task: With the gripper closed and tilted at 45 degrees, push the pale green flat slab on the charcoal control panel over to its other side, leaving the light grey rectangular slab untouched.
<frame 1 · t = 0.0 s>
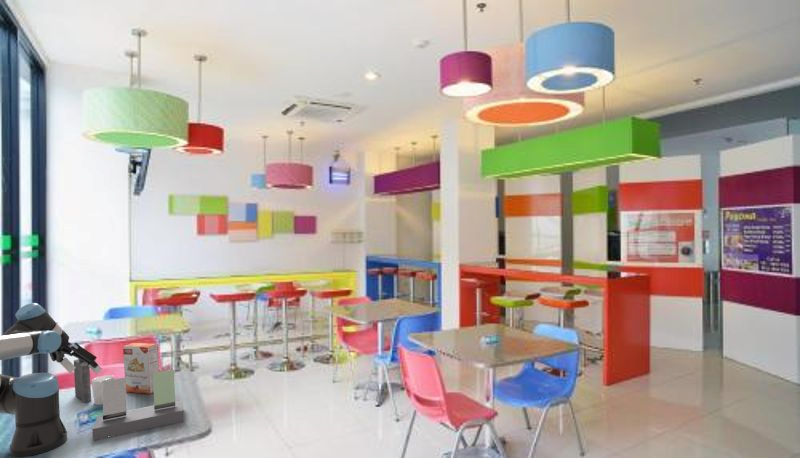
hand: (85, 371, 183), 15 cm above the table, tool tilted 35°, fingers open, 13 cm apart
flask: (84, 398, 195), on the table
cracker box: (142, 391, 200), on the table
white cup: (104, 402, 189), on the table
control panel: (141, 424, 165), on the table
light grey rectangular slab: (114, 398, 163), point 10 cm above the table, hinge at -25.0°
pale green flat slab: (164, 389, 171), point 10 cm above the table, hinge at -25.0°
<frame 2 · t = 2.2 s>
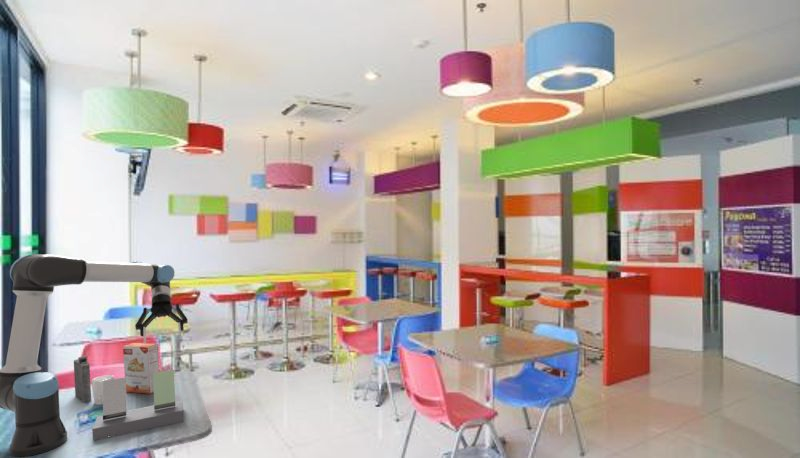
hand: (162, 339, 187), 26 cm above the table, tool tilted 45°, fingers open, 12 cm apart
nothing on the table moved.
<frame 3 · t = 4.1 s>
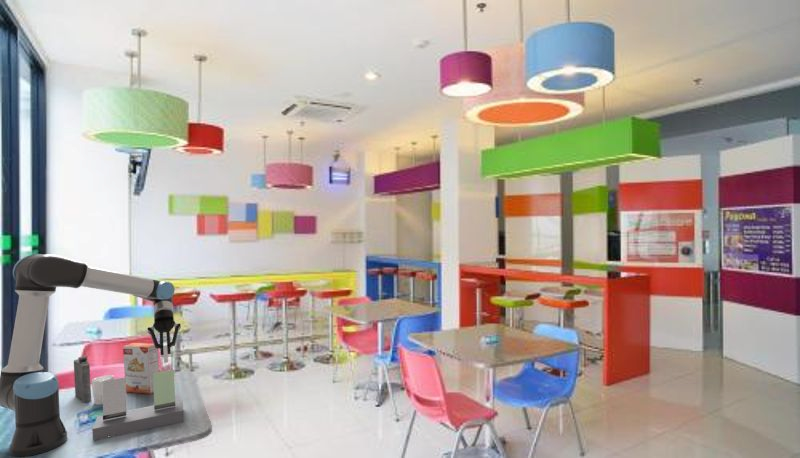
hand: (165, 360, 184), 18 cm above the table, tool tilted 45°, fingers closed
nothing on the table moved.
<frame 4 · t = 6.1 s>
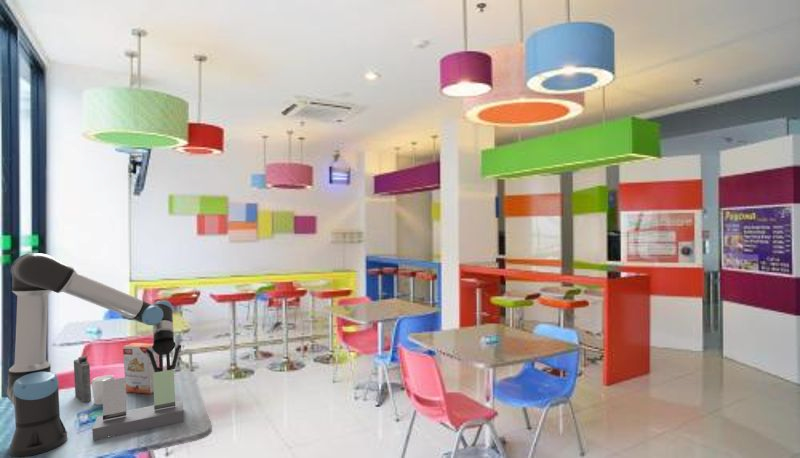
hand: (165, 386, 173), 11 cm above the table, tool tilted 45°, fingers closed
pale green flat slab: (164, 389, 171), point 10 cm above the table, hinge at -24.5°, touching gripper
everything else where it was.
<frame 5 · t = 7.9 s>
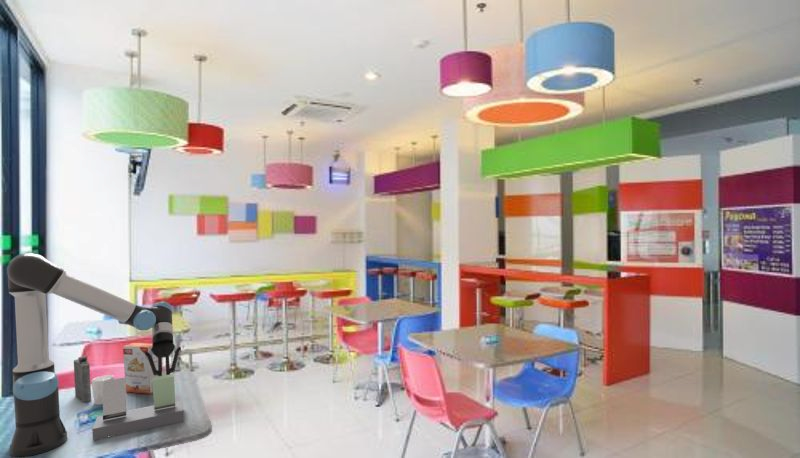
hand: (164, 389, 168), 11 cm above the table, tool tilted 45°, fingers closed
pale green flat slab: (164, 392, 167), point 11 cm above the table, hinge at 18.8°, touching gripper
everything else where it was.
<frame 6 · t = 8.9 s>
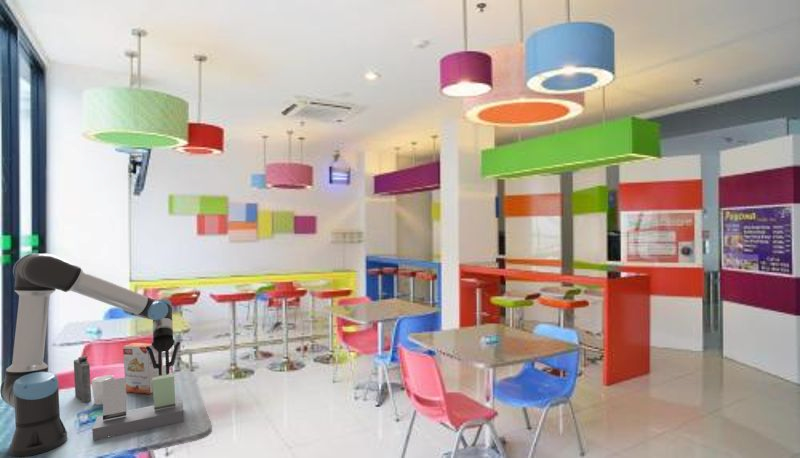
hand: (164, 381, 177), 11 cm above the table, tool tilted 45°, fingers closed
pale green flat slab: (164, 392, 167), point 11 cm above the table, hinge at 18.8°
everything else where it was.
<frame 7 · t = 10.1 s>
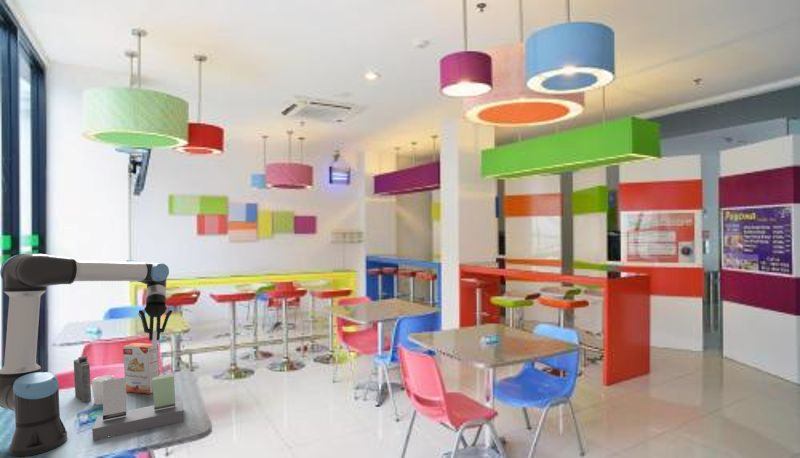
hand: (153, 347, 184), 23 cm above the table, tool tilted 40°, fingers closed
nothing on the table moved.
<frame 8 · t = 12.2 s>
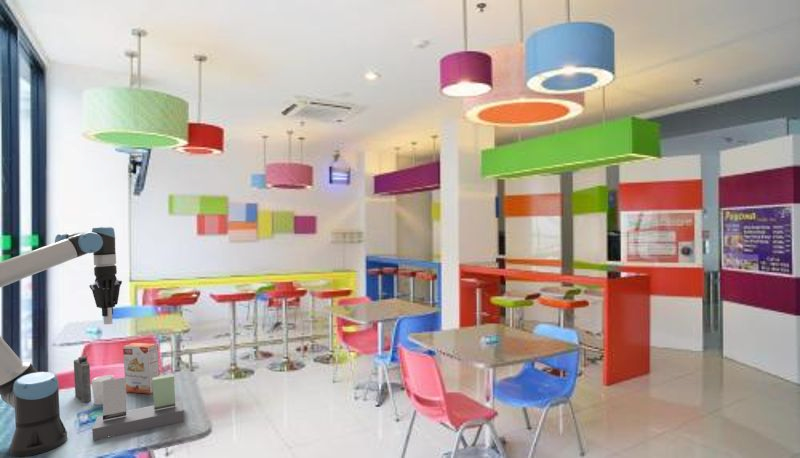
hand: (108, 323, 181), 34 cm above the table, tool pointing down, fingers closed
nothing on the table moved.
at the end: pale green flat slab at +19° (first picture: -25°); light grey rectangular slab at -25° (first picture: -25°) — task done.
